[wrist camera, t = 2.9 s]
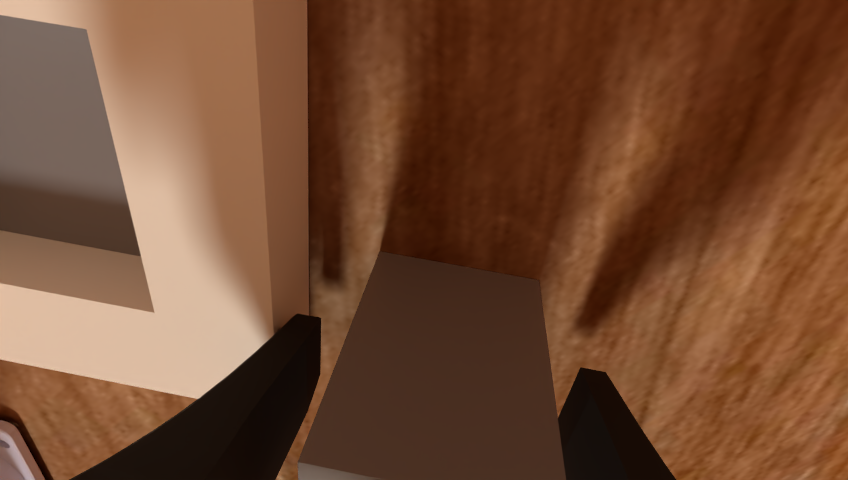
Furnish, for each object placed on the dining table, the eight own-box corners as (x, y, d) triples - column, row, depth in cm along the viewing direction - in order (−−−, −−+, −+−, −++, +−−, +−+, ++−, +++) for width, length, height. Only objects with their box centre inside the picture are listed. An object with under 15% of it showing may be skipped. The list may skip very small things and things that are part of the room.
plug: (503, 387, 14) (508, 643, 9) (369, 362, 14) (297, 597, 9) (538, 279, 12) (573, 535, 7) (380, 251, 12) (291, 477, 7)
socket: (309, 350, 14) (269, 434, 12) (-54, 280, 15) (-167, 346, 12) (306, -145, 8) (218, -192, 5) (-328, -236, 9) (-678, -319, 6)
